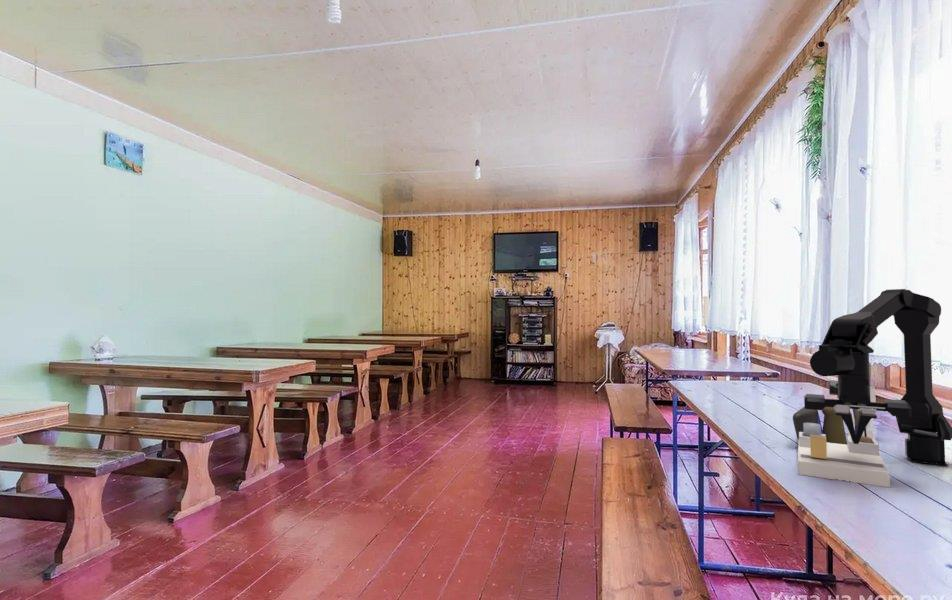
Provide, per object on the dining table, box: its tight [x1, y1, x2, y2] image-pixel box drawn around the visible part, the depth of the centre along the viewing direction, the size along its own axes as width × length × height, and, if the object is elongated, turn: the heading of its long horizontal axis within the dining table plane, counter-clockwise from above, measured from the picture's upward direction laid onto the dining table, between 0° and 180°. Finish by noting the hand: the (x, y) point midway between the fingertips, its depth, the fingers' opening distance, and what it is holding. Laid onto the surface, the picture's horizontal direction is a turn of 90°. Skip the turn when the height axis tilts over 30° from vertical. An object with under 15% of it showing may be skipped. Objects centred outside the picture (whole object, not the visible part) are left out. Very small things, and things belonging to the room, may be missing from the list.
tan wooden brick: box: [810, 434, 827, 459], centre depth 113 cm, size 3×4×4 cm
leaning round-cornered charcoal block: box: [792, 406, 823, 441], centre depth 135 cm, size 16×5×9 cm, turn 136°
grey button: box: [803, 423, 822, 437], centre depth 124 cm, size 4×4×3 cm
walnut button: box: [859, 436, 872, 444], centre depth 118 cm, size 4×4×3 cm
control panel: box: [797, 432, 891, 488], centre depth 116 cm, size 16×22×6 cm
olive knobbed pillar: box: [821, 407, 847, 445], centre depth 136 cm, size 6×6×11 cm
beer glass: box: [847, 385, 877, 440], centre depth 140 cm, size 7×7×15 cm
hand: (855, 443), depth 109 cm, fingers closed
